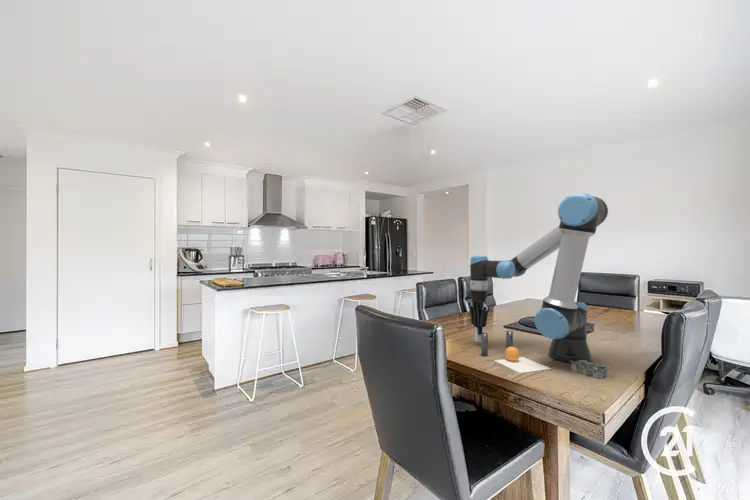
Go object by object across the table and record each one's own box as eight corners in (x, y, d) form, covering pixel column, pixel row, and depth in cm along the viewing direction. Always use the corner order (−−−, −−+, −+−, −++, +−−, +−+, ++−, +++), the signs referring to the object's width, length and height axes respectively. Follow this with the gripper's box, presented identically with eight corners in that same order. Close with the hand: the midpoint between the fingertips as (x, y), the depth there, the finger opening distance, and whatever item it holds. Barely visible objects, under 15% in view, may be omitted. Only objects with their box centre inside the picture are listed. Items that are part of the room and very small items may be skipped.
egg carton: (568, 371, 123) (568, 359, 123) (579, 367, 127) (579, 356, 127) (599, 380, 114) (599, 368, 114) (610, 376, 118) (610, 364, 118)
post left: (489, 356, 139) (489, 334, 139) (483, 356, 138) (483, 334, 138) (485, 354, 141) (485, 332, 141) (479, 354, 141) (480, 333, 141)
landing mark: (550, 369, 124) (550, 368, 124) (520, 373, 120) (520, 372, 120) (522, 357, 137) (522, 356, 137) (494, 360, 133) (494, 360, 133)
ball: (511, 349, 138) (516, 362, 134) (499, 350, 136) (505, 363, 133) (519, 343, 133) (525, 357, 130) (507, 345, 132) (513, 359, 129)
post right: (514, 353, 143) (514, 331, 143) (509, 353, 142) (509, 332, 142) (509, 351, 145) (510, 330, 145) (504, 351, 145) (505, 330, 145)
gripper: (463, 288, 159) (463, 338, 159) (480, 291, 147) (480, 345, 147) (477, 287, 161) (476, 337, 161) (494, 291, 149) (494, 344, 149)
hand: (478, 341), depth 154 cm, fingers closed
